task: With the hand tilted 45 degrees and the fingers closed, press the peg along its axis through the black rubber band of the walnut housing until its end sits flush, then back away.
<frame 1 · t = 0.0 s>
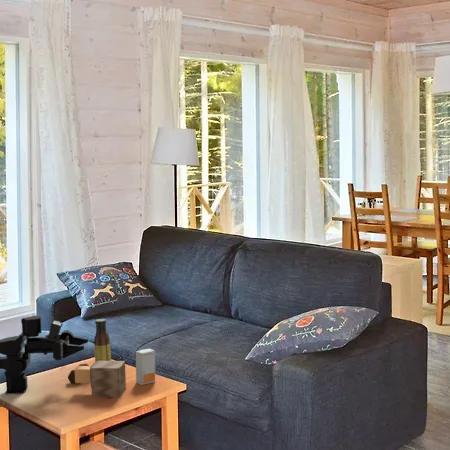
hand: (85, 344, 262), 17 cm above the table, tool horizontal, fingers open, 9 cm apart
housing: (109, 392, 260), on the table
bolt: (81, 378, 278), on the table
sauce bottle: (103, 369, 288), on the table
skincare box: (146, 382, 271), on the table
peg: (89, 374, 260), point 7 cm above the table, slide at 6.0 cm
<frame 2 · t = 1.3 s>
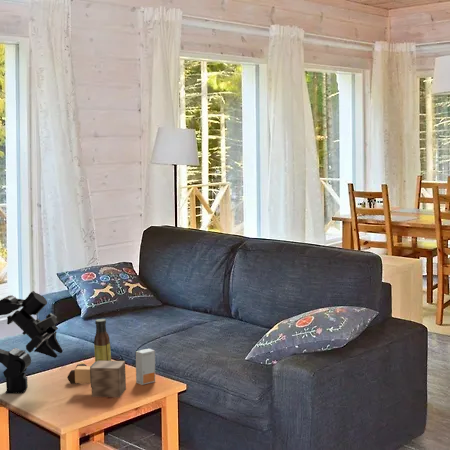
hand: (59, 354, 260), 14 cm above the table, tool tilted 45°, fingers open, 6 cm apart
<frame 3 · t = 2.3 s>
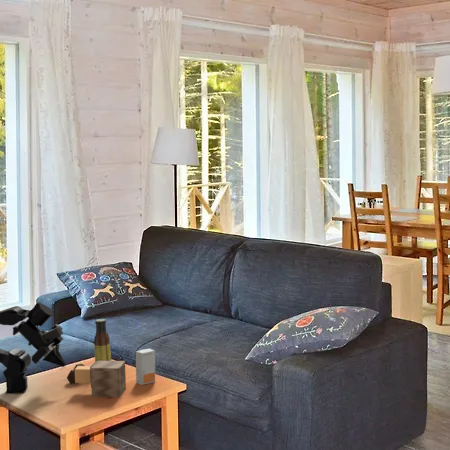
hand: (64, 365, 260), 10 cm above the table, tool tilted 45°, fingers closed
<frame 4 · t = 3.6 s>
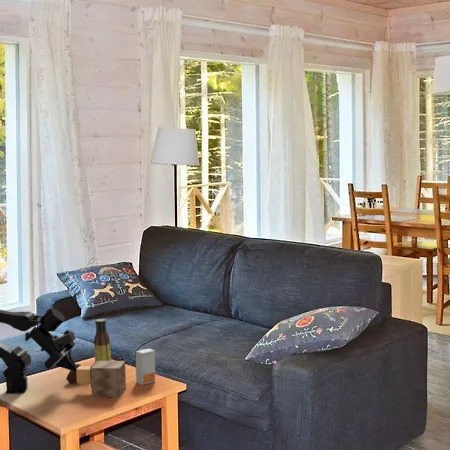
hand: (77, 370, 260), 8 cm above the table, tool tilted 45°, fingers closed, pressing on peg
peg: (91, 374, 260), point 7 cm above the table, slide at 5.4 cm, touching gripper
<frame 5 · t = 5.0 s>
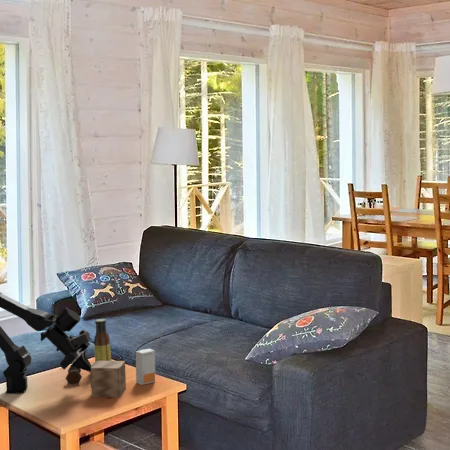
hand: (92, 371, 259), 8 cm above the table, tool tilted 45°, fingers closed, pressing on peg
peg: (106, 374, 259), point 7 cm above the table, slide at -0.1 cm, touching gripper, housing
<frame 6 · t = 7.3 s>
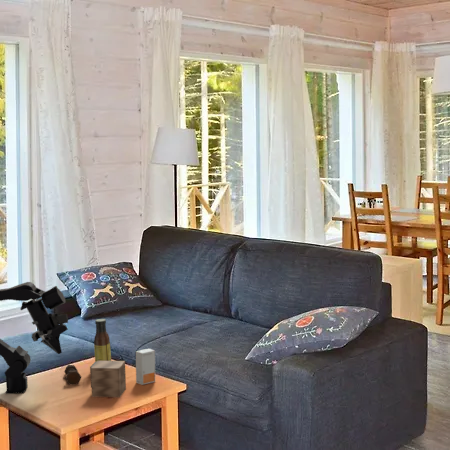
hand: (60, 353, 262), 13 cm above the table, tool tilted 25°, fingers closed
peg: (106, 374, 259), point 7 cm above the table, slide at 0.0 cm
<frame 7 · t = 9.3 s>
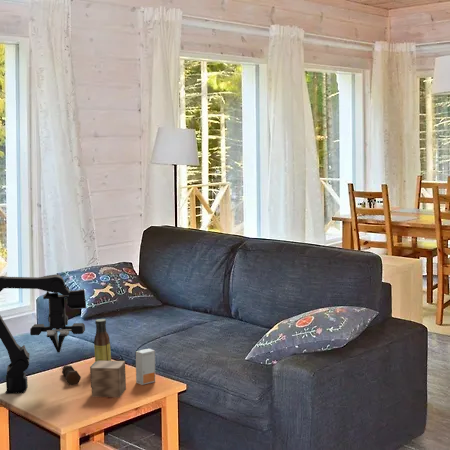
hand: (58, 352, 265), 13 cm above the table, tool pointing down, fingers closed
at the end: peg slide at 0.0 cm; peg touching nothing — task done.
